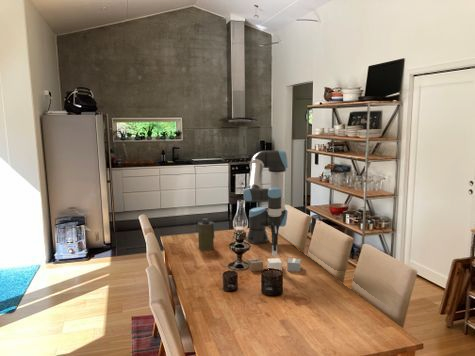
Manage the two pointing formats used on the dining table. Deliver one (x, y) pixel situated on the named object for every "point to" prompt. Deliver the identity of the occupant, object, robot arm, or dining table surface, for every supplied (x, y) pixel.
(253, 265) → the walnut block
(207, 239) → the canister
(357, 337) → the dining table surface
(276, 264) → the plain block
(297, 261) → the grey block
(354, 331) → the dining table surface
